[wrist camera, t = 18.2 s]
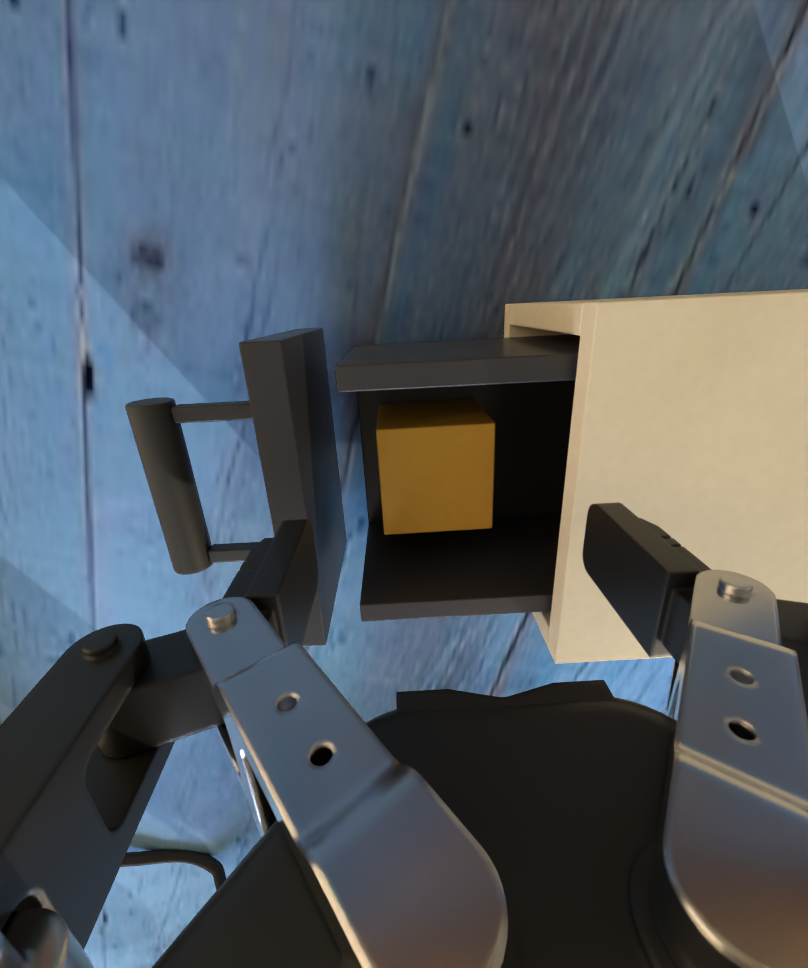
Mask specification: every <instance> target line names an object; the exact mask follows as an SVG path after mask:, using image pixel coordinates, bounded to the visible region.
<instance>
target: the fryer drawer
mask: <svg viewBox="0 0 808 968" xmlns="http://www.w3.org/2000/svg"><path fill="white" fill-rule="evenodd" d="M579 344H580V336H579V335H573V334H566V335H547V336H527V337H507V338H488V339H468V340H449V341H429V342H409V343H390V344H370V345H355V346H354V347H353V348H352V349H351V350H350V351H349V352H348V353H347V354H346V355H345V357H344V358H343V359H342V360H341V361H340V362H339V363H338V364H337V365H336V366H335V374H336V384H337V391H338V392H356V391H357V396H358V408H359V419H360V430H361V442H362V453H363V464H364V476H365V487H366V498H367V510H368V521H369V526H368V536H367V545H366V554H365V563H364V572H363V582H362V591H361V600H360V611H361V620H362V621H381V620H400V619H418V618H436V617H455V616H473V615H491V614H510V613H528V612H546V611H551V607H552V598H553V588H554V579H555V570H556V560H557V551H558V541H559V532H560V523H561V513H562V504H563V494H564V485H565V475H566V466H567V457H568V447H569V438H570V428H571V419H572V410H573V400H574V391H575V381H576V372H577V363H578V353H579ZM239 347H240V352H241V358H242V363H243V368H244V374H245V379H246V384H247V390H248V395H249V401H236V402H217V403H197V404H178V405H176V403H175V400H174V399H172V398H151V399H144V400H138V401H134V402H131V403H128V404H126V406H125V408H126V411H127V414H128V418H129V421H130V424H131V428H132V431H133V434H134V438H135V441H136V444H137V448H138V451H139V454H140V458H141V461H142V464H143V468H144V471H145V474H146V478H147V481H148V484H149V488H150V491H151V494H152V498H153V501H154V504H155V508H156V511H157V514H158V518H159V521H160V524H161V528H162V531H163V534H164V538H165V541H166V544H167V548H168V551H169V554H170V558H171V561H172V564H173V568H174V570H175V572H176V573H178V574H182V575H189V574H195V573H198V572H201V571H203V570H205V569H207V568H208V567H210V566H211V565H212V564H213V563H216V562H235V561H245V559H246V557H247V556H248V554H249V552H250V550H251V549H252V548H253V547H254V546H255V545H257V544H258V543H259V542H250V543H231V544H214V545H211V541H210V537H209V533H208V530H207V526H206V522H205V518H204V514H203V510H202V506H201V502H200V498H199V494H198V490H197V486H196V482H195V478H194V474H193V470H192V466H191V463H190V459H189V455H188V451H187V447H186V443H185V439H184V435H183V431H182V427H181V423H192V422H212V421H231V420H250V419H253V422H254V427H255V433H256V438H257V443H258V449H259V454H260V460H261V465H262V470H263V476H264V481H265V486H266V492H267V497H268V503H269V508H270V513H271V519H272V524H273V529H274V535H276V533H277V531H278V529H279V527H280V525H281V523H282V521H284V520H300V519H310V521H311V524H312V528H313V535H314V542H315V549H316V556H317V562H318V573H319V578H318V588H317V592H316V595H315V599H314V603H313V607H312V610H311V614H310V618H309V622H308V625H307V629H306V633H305V637H304V641H303V644H302V646H312V645H326V643H327V637H328V632H329V627H330V622H331V617H332V612H333V607H334V602H335V597H336V592H337V586H338V581H339V576H340V571H341V566H342V561H343V556H344V551H345V546H346V541H347V540H346V531H345V523H344V514H343V505H342V496H341V487H340V478H339V469H338V461H337V452H336V443H335V434H334V425H333V416H332V408H331V399H330V390H329V381H328V372H327V363H326V354H325V346H324V337H323V329H322V328H307V329H295V330H291V331H286V332H282V333H278V334H273V335H269V336H265V337H261V338H256V339H252V340H248V341H243V342H240V343H239ZM466 399H474V400H475V401H476V402H477V403H478V404H479V405H480V406H481V407H482V409H483V410H484V411H485V412H486V413H487V414H488V415H489V417H490V418H491V419H492V420H493V421H494V422H495V424H496V426H495V459H494V492H493V525H492V528H490V529H473V530H456V531H439V532H422V533H405V534H388V535H385V534H384V527H383V515H382V502H381V490H380V477H379V465H378V453H377V440H376V425H377V418H378V410H379V405H380V404H397V403H414V402H432V401H449V400H466Z"/></svg>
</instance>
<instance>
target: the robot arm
mask: <svg viewBox="0 0 808 968" xmlns="http://www.w3.org/2000/svg"><path fill="white" fill-rule="evenodd" d="M583 563H584V567H585V570H586V572H587V573H588V575H589V576H590V578H591V579H592V580H593V582H594V583H595V584H596V586H597V587H598V588H599V590H600V591H601V592H602V594H603V595H604V596H605V598H606V599H607V600H608V602H609V603H610V605H611V606H612V607H613V609H614V610H615V611H616V613H617V614H618V615H619V617H620V618H621V619H622V621H623V622H624V623H625V625H626V626H627V627H628V629H629V630H630V632H631V633H632V634H633V636H634V637H635V638H636V640H637V641H638V642H639V644H640V645H641V646H642V648H643V649H644V650H645V652H646V653H647V654H648V656H649V657H650V658H652V657H670V656H672V657H673V658H674V659H675V662H674V666H673V670H672V675H671V681H670V686H669V692H668V697H667V703H666V709H665V714H663V713H661V712H658V711H656V710H654V709H651V708H649V707H647V706H644V705H641V704H638V703H635V702H632V701H628V700H624V699H620V698H614V697H613V695H612V693H611V692H610V690H609V688H608V686H607V685H606V683H605V681H604V680H594V681H577V682H560V683H551V684H548V685H545V686H541V687H538V688H535V689H532V690H528V691H525V692H522V693H518V694H515V695H512V696H508V697H494V696H488V695H482V694H475V693H469V692H463V691H456V690H450V689H441V690H424V691H407V692H397V709H396V710H393V711H390V712H387V713H385V714H382V715H380V716H378V717H375V718H374V719H372V720H370V721H369V722H367V723H365V722H364V721H363V719H362V718H361V717H360V716H359V715H358V713H357V712H356V711H355V710H354V708H353V707H352V706H351V705H350V704H349V702H348V701H347V700H346V699H345V698H344V696H343V695H342V694H341V693H340V692H339V690H338V689H337V688H336V687H335V685H334V684H333V683H332V682H331V681H330V679H329V678H328V677H327V676H326V675H325V673H324V672H323V671H322V670H321V668H320V667H319V666H318V665H317V664H316V662H315V661H314V660H313V659H312V658H311V656H310V655H309V654H308V653H307V651H306V650H305V649H304V648H303V647H302V644H303V641H304V637H305V633H306V629H307V625H308V622H309V618H310V614H311V610H312V607H313V603H314V599H315V595H316V592H317V588H318V578H319V573H318V562H317V556H316V549H315V542H314V535H313V528H312V524H311V521H310V519H300V520H284V521H282V523H281V525H280V527H279V529H278V531H277V533H276V535H275V536H274V538H264V539H263V540H262V541H261V542H259V543H258V544H257V545H255V546H254V547H253V548H252V549H251V550H250V552H249V554H248V556H247V557H246V559H245V562H243V564H242V566H241V568H240V571H238V573H237V574H236V576H235V578H234V579H233V581H232V583H231V585H230V586H229V588H228V590H227V591H226V593H225V595H224V597H223V598H222V599H219V600H216V601H213V602H211V603H209V604H207V605H205V606H203V607H202V608H200V609H199V610H197V611H196V612H195V613H194V614H193V615H192V616H191V617H190V618H189V620H188V622H187V624H186V629H185V630H182V631H179V632H176V633H172V634H168V635H164V636H161V637H157V638H153V639H149V640H146V641H145V638H144V635H143V632H142V630H141V629H140V628H139V627H138V626H136V625H133V624H117V625H112V626H108V627H105V628H102V629H99V630H97V631H94V632H92V633H90V634H88V635H86V636H85V637H83V638H81V639H80V640H78V641H77V642H75V643H74V644H73V645H72V646H71V647H69V648H68V649H67V650H66V651H65V653H64V654H63V655H62V656H61V657H60V658H59V659H58V661H57V662H56V663H55V664H54V665H53V666H52V668H51V669H50V670H49V671H48V672H47V673H46V674H45V676H44V677H43V678H42V679H41V680H40V681H39V682H38V684H37V685H36V686H35V687H34V688H33V689H32V690H31V692H30V693H29V694H28V695H27V696H26V697H25V698H24V700H23V701H22V702H21V703H20V704H19V705H18V706H17V708H16V709H15V710H14V711H13V712H12V713H11V714H10V716H9V717H8V718H7V719H6V720H5V721H4V722H3V724H2V725H1V726H0V968H94V967H93V965H92V962H91V960H90V959H89V957H88V956H87V954H86V953H85V951H84V948H85V946H86V944H87V941H88V939H89V937H90V934H91V932H92V930H93V928H94V925H95V923H96V921H97V918H98V916H99V914H100V912H101V909H102V907H103V905H104V902H105V900H106V898H107V896H108V893H109V891H110V889H111V886H112V884H113V882H114V880H115V877H116V875H117V873H118V870H119V868H120V867H128V866H140V865H149V864H158V863H171V862H179V863H189V864H193V865H196V866H199V867H201V868H203V869H205V870H207V871H208V872H210V873H211V874H212V875H213V877H214V881H215V886H216V889H217V891H216V892H215V893H214V895H213V896H212V897H211V898H210V899H209V900H208V902H207V903H206V904H205V905H204V906H203V908H202V909H201V910H200V911H199V912H198V913H197V915H196V916H195V917H194V918H193V919H192V921H191V922H190V923H189V924H188V925H187V926H186V928H185V929H184V930H183V931H182V932H181V934H180V935H179V936H178V937H177V938H176V939H175V941H174V942H173V943H172V944H171V945H170V946H169V948H168V949H167V950H166V951H165V952H164V954H163V955H162V956H161V957H160V958H159V959H158V961H157V962H156V963H155V964H154V965H153V967H152V968H808V603H803V602H795V601H788V600H780V599H776V596H775V594H774V593H773V592H772V591H771V590H770V589H769V588H768V587H767V586H766V585H764V584H762V583H761V582H759V581H757V580H755V579H753V578H751V577H748V576H745V575H742V574H739V573H736V572H731V571H725V570H712V569H710V568H709V567H708V566H707V565H706V564H704V563H703V562H702V561H701V560H699V559H698V558H697V557H696V556H695V555H693V554H692V553H691V552H690V551H688V550H687V549H686V548H685V547H681V544H680V543H679V542H677V541H676V540H675V539H674V538H671V536H670V535H669V534H667V533H666V532H665V531H664V530H663V529H661V528H660V527H659V526H657V525H655V524H653V523H650V522H648V521H646V520H644V519H642V518H638V517H637V516H636V515H635V514H634V513H632V512H631V511H630V510H629V509H628V508H627V507H625V506H624V505H623V504H622V503H620V502H616V503H598V504H591V505H590V507H589V509H588V513H587V521H586V529H585V536H584V544H583ZM213 727H216V730H217V732H218V734H219V737H220V739H221V741H222V743H223V746H224V748H225V750H226V753H227V755H228V757H229V759H230V762H231V764H232V766H233V768H234V771H235V773H236V775H237V778H238V780H239V782H240V784H241V787H242V789H243V791H244V794H245V796H246V799H247V801H248V804H249V807H250V809H251V812H252V815H253V818H254V820H255V823H256V826H257V828H258V831H259V833H260V836H261V839H260V840H259V841H258V843H257V844H256V845H255V846H254V847H253V848H252V850H251V851H250V852H249V853H248V854H247V856H246V857H245V858H244V859H243V860H242V861H241V863H240V864H239V865H238V866H237V867H236V869H235V870H234V871H233V872H232V873H231V874H230V876H229V877H228V878H227V879H226V876H225V871H224V868H223V866H222V864H221V863H220V862H219V861H218V860H216V859H215V858H213V857H212V856H210V855H208V854H205V853H200V852H194V851H186V850H152V851H142V852H128V853H126V852H127V850H128V848H129V845H130V843H131V841H132V838H133V836H134V834H135V832H136V829H137V827H138V825H139V822H140V820H141V818H142V815H143V813H144V811H145V809H146V806H147V804H148V802H149V799H150V797H151V795H152V793H153V790H154V788H155V786H156V783H157V781H158V779H159V777H160V774H161V772H162V770H163V767H164V765H165V763H166V761H167V758H168V756H169V754H170V751H171V749H172V747H173V745H174V742H175V740H178V739H181V738H184V737H187V736H190V735H193V734H196V733H199V732H202V731H205V730H208V729H211V728H213Z"/></svg>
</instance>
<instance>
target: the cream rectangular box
mask: <svg viewBox="0 0 808 968" xmlns="http://www.w3.org/2000/svg"><path fill="white" fill-rule="evenodd" d="M566 334H573V335H579V336H580V344H579V353H578V363H577V372H576V381H575V391H574V400H573V410H572V419H571V428H570V438H569V447H568V457H567V466H566V475H565V485H564V494H563V504H562V513H561V523H560V532H559V541H558V551H557V560H556V570H555V579H554V588H553V598H552V607H551V611H546V612H532V613H533V616H534V618H535V620H536V622H537V624H538V627H539V629H540V631H541V633H542V635H543V637H544V640H545V642H546V644H547V647H548V649H549V651H550V653H551V655H552V657H553V660H554V662H555V663H574V662H592V661H611V660H629V659H647V658H650V657H649V656H648V654H647V653H646V652H645V650H644V649H643V648H642V646H641V645H640V644H639V642H638V641H637V640H636V638H635V637H634V636H633V634H632V633H631V632H630V630H629V629H628V627H627V626H626V625H625V623H624V622H623V621H622V619H621V618H620V617H619V615H618V614H617V613H616V611H615V610H614V609H613V607H612V606H611V605H610V603H609V602H608V600H607V599H606V598H605V596H604V595H603V594H602V592H601V591H600V590H599V588H598V587H597V586H596V584H595V583H594V582H593V580H592V579H591V578H590V576H589V575H588V573H587V572H586V570H585V567H584V563H583V544H584V536H585V529H586V521H587V513H588V509H589V507H590V505H591V504H598V503H616V502H620V503H622V504H623V505H624V506H625V507H627V508H628V509H629V510H630V511H631V512H632V513H634V514H635V515H636V516H637V517H638V518H642V519H644V520H646V521H648V522H650V523H653V524H655V525H657V526H659V527H660V528H661V529H663V530H664V531H665V532H666V533H667V534H669V535H670V536H671V538H674V539H675V540H676V541H677V542H679V543H680V544H681V547H685V548H686V549H687V550H688V551H690V552H691V553H692V554H693V555H695V556H696V557H697V558H698V559H699V560H701V561H702V562H703V563H704V564H706V565H707V566H708V567H709V568H710V569H712V570H725V571H731V572H736V573H739V574H742V575H745V576H748V577H751V578H753V579H755V580H757V581H759V582H761V583H762V584H764V585H766V586H767V587H768V588H769V589H770V590H771V591H772V592H773V593H774V594H775V596H776V599H780V600H788V601H795V602H803V603H808V289H792V290H772V291H752V292H732V293H713V294H693V295H673V296H653V297H633V298H614V299H594V300H574V301H554V302H535V303H515V304H506V305H505V322H504V338H507V337H527V336H547V335H566ZM670 657H672V656H670ZM652 658H665V657H652Z"/></svg>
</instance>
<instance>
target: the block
mask: <svg viewBox="0 0 808 968" xmlns="http://www.w3.org/2000/svg"><path fill="white" fill-rule="evenodd" d="M495 426H496V424H495V422H494V421H493V420H492V419H491V418H490V417H489V415H488V414H487V413H486V412H485V411H484V410H483V409H482V407H481V406H480V405H479V404H478V403H477V402H476V401H475V400H474V399H466V400H449V401H432V402H414V403H397V404H380V405H379V410H378V418H377V425H376V440H377V453H378V465H379V477H380V490H381V502H382V515H383V527H384V534H385V535H388V534H405V533H422V532H439V531H456V530H473V529H490V528H492V525H493V492H494V459H495Z"/></svg>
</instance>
